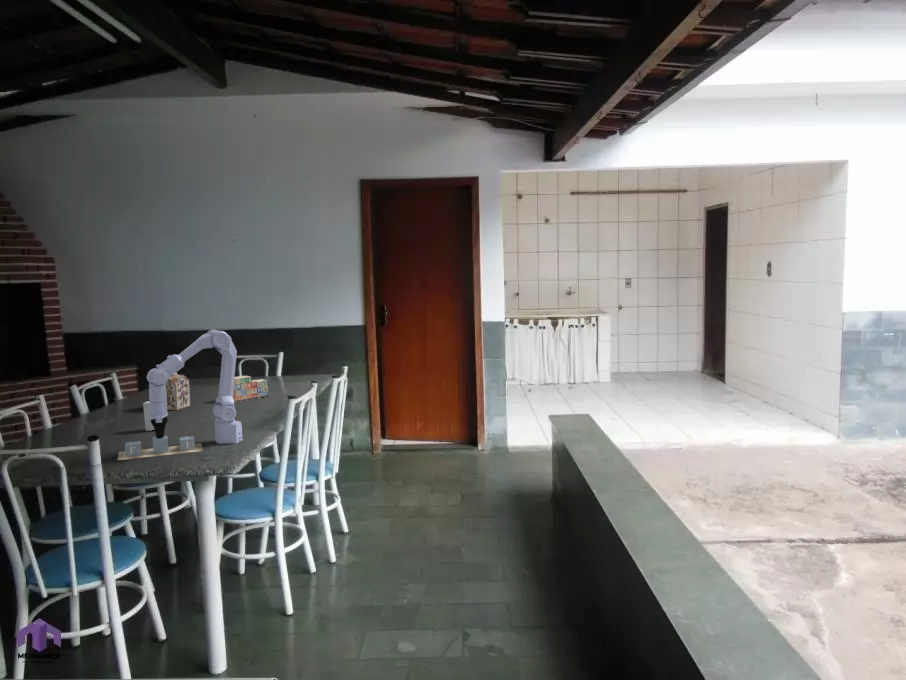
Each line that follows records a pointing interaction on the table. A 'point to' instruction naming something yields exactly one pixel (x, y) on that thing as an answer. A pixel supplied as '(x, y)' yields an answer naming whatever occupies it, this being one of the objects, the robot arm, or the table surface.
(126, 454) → the block with a 7
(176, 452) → the birch board
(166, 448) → the plain block
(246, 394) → the stack of blocks
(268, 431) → the table surface
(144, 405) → the skincare box
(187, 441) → the block with a 1
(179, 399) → the decorative jar
